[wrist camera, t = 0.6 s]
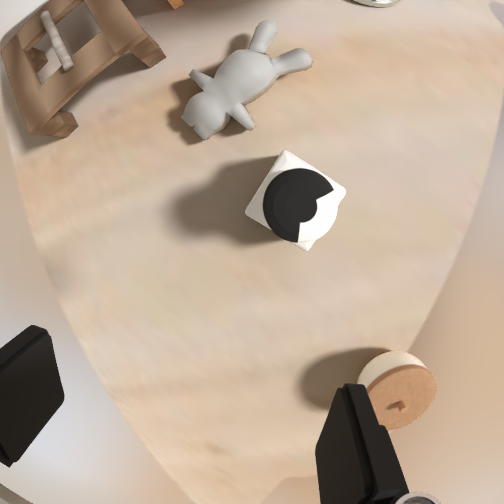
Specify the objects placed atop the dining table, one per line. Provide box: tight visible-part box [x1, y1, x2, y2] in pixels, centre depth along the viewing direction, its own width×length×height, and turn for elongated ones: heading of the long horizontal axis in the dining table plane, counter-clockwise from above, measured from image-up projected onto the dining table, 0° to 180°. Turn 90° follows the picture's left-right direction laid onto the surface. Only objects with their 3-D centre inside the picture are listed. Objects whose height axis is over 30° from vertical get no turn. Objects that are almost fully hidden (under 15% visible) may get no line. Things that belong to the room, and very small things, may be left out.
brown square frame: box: [1, 0, 166, 137], centre depth 28 cm, size 17×16×9 cm
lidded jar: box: [357, 351, 436, 431], centre depth 36 cm, size 11×11×9 cm
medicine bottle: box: [245, 150, 346, 251], centre depth 30 cm, size 7×7×12 cm
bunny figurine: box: [181, 21, 313, 140], centre depth 31 cm, size 10×5×15 cm
